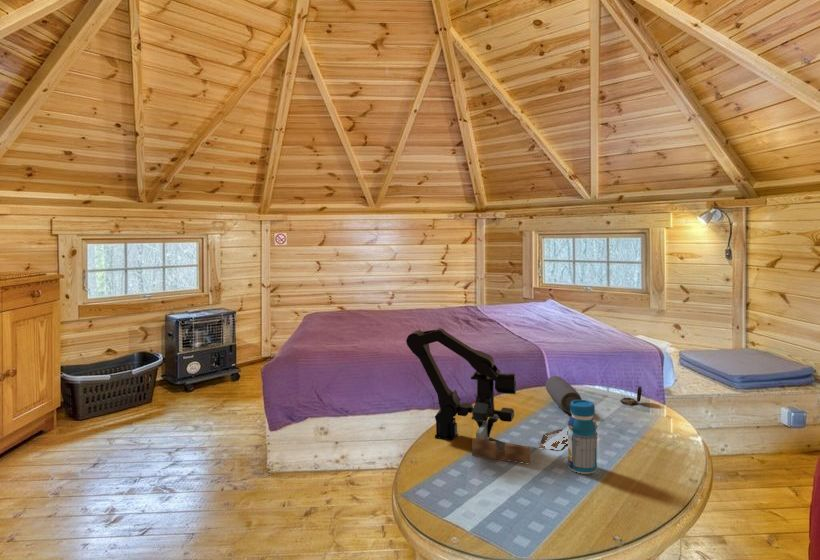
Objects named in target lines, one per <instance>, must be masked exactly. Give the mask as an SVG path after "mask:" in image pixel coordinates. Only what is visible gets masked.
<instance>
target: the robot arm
mask: <svg viewBox="0 0 820 560" xmlns="http://www.w3.org/2000/svg"><path fill="white" fill-rule="evenodd" d="M436 342H437V343H440V344H441V345H442V346H444V347H445V348H447V349H448V350H450V351H452V352H454V353H455V354H457V355H458V356H459V357H460V358H463V359H464V360H465V361H466V362H467V363H468V364H469V366H470V367H472V369H474V370H475V372H474V373H473V374H472V375H471V377H470V380H474V381H475V380H476V396H475V397H476V398H475V403H474V405H473V404H472V403H467V402H462V399H461V397H459V394H458V391H457V390H456V389H454V390H451V388H449V386H448V384H447V383H446V380H445V379H444V377H443V375H442V373H441V371H440V369H439V367H438V365H437V363H436V361H435V359H434V357H433V355H432V353H431V349H430V344H432V343H436ZM405 343H406V345H407V347H408V349H410V351H411V353H412V354H413V355H415V356H416V357H417V358H418V359H419V362H420V363H421V365H422V367H423V369H424V371H425V373H426V375H427V377H428V379H429V381H430V383H431V385H432V386H433V389H434V391H435V393H436V395H437V400H438V401H437V402H438V405H439V410H438V412H436V415H434V418H435V419H434V420H435V428H436V430H435V432H436V433H435V435H434V438H437V439H442V440H449V441H452V440H453V439H454V438H455V437H456V436H457V435H458V422H456V416H458V417H459V416H460V417H467V416H468V415H469V414H471V420H474V421H475V422H476V424H477V425H478V426H477V427H478V429H479V428H480V427H481V425H482V424H483V423H484V421H487V420H488V432H487V434H488V437H489V436H490V437H491V433H492V430H493V427H494V425H495V423H497V422H498V421H499V420H500V421H501V422H508V423H511V422H512V421H513V419H514V417H515V410H514V409H513V408H510V407H502V408H501V410H498V409H495V401H494V400H495V391H496V392H498V394H505V395H516V394H517V381H516V374H515V373H513V372H511V373H502V372H501V371H500V369H499V368H498V367H497V365H496V364H495V360H494V358H493V356H492V355H490V354H488V353H487V352H486V353H485V352H484V351H481V350H477V349H474V348H472V347H470V346H469V345H467V344H465V343H464V342H463V341H462V340H459V339H458V338H457V337H455V336H453V335H452V334H450V333H448V332H447V331H446V330H445V329H443V328H440V327H439V328H437V329H431V330H425V331H423V330H420V329H419V330H415V331H413V332H411V333H410V334H409V335H408V336H407V337H406V340H405ZM494 389H495V391H494ZM461 402H462V403H461Z"/></svg>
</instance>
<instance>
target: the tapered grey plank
mask: <svg viewBox="0 0 820 560" xmlns="http://www.w3.org/2000/svg"><path fill="white" fill-rule="evenodd" d="M487 432H488V420H487V421H484V423H483V424H482V425H481V427H480V428H479V427H478V430H477V431H476V432H475V439H482V440H489V439H490V438H491V435H490V436H489V437H488V434H487Z"/></svg>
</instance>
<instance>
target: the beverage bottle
mask: <svg viewBox="0 0 820 560" xmlns="http://www.w3.org/2000/svg"><path fill="white" fill-rule="evenodd" d="M595 407H596V406H595V403H593V401H590V400H587V399H582V400H573V401H571V404H570V412H571V413H570V414H571V416H570V417H569V419H568V421H567V426H568V427H567V428H569V429H568V431H567V435H568V445H567V451H568V453H567V467H568V469H569V470H570V471H572V472H574V473H576V472H577V473H576V474H580V473H581V474H582V475H591V473H592V474H594V473H595V472H596V471H597V469H598V464H597V461H598V459H597V453H598V452H597V450H598V449H597V448H598V447H597V446H598V445H597V444H598V442H597V441H598V438H599V437H598V432H597V429H598V425H597V424H598V423H597V422H596V419H595V418H594V416H595V410H596V409H595Z"/></svg>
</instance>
